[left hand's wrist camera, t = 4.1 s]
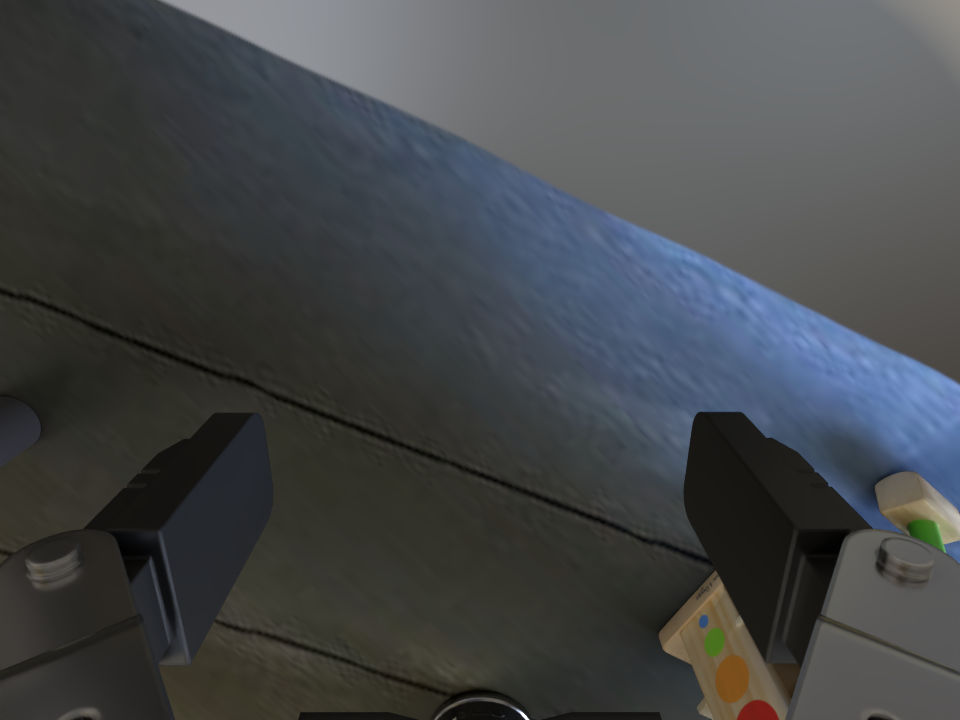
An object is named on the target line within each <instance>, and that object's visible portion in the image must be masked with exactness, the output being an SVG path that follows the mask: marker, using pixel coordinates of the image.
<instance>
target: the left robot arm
mask: <svg viewBox="0 0 960 720" xmlns="http://www.w3.org/2000/svg"><path fill="white" fill-rule="evenodd" d="M141 471H142V472H141V474H137V475H136V476H135V477H134V478H133V479H132V480H131V481H130V482H129V483H128V484H127V488H123V489H122V490H121V491H120V492H119V493H118V494H117V495H116V496H115V497H114V498H113V499H112V500H111V501H110V502H109V503H108V504H107V505H106V506H105V507H104V508H103V509H102V510H101V511H100V512H99V513H98V515H97V516H96V517H95V518H94V519H93V520H92V521H91V522H90V523H89V524H88V525H87V526H86V527H85V528H84V529H80V530H72V531H67V532H62V533H59V534H55V535H52V536H49V537H46V538H43V539H40V540H38V541H36V542H34V543H31V544H29V545H27V546H26V547H24V548H22V549H20V550H18V551H17V552H15V553H14V554H12V555H11V556H9V557H8V558H7V559H5V560H4V561H3V562H2V563H1V564H0V720H175V718H174V715H173V712H172V709H171V706H170V702H169V699H168V696H167V693H166V690H165V687H164V683H163V680H162V677H161V674H160V671H159V667H158V666H190V664H191V662H192V660H193V658H194V657H195V655H196V653H197V651H198V649H199V647H200V646H201V644H202V642H203V640H204V638H205V636H206V634H207V633H208V631H209V629H210V627H211V625H212V623H213V622H214V620H215V618H216V616H217V614H218V612H219V611H220V609H221V607H222V605H223V603H224V601H225V599H226V598H227V596H228V594H229V592H230V590H231V588H232V587H233V585H234V583H235V581H236V579H237V577H238V575H239V574H240V572H241V570H242V568H243V566H244V564H245V563H246V561H247V559H248V557H249V555H250V553H251V552H252V550H253V548H254V546H255V544H256V542H257V540H258V539H259V537H260V535H261V533H262V531H263V529H264V528H265V526H266V524H267V522H268V520H269V517H270V514H271V510H272V504H273V484H272V477H271V470H270V462H269V455H268V448H267V441H266V434H265V428H264V423H263V420H262V417H261V416H260V415H259V414H258V413H215V414H213V415H212V416H211V417H210V418H209V419H208V420H207V421H206V422H205V423H204V424H203V426H202V427H201V428H200V429H199V430H198V431H197V432H196V433H195V434H194V435H193V436H192V437H191V438H190V439H183V440H182V441H180V442H178V443H176V444H174V445H173V446H171V447H169V448H167V449H165V450H164V451H162V452H160V453H158V454H157V455H156V456H155V457H154V458H153V459H152V460H151V461H150V462H149V463H148V464H147V465H146V466H145V467H144V468H143V469H142V470H141ZM684 504H685V509H686V513H687V517H688V519H689V521H690V523H691V525H692V527H693V529H694V531H695V532H696V534H697V536H698V538H699V540H700V542H701V544H702V546H703V547H704V549H705V551H706V553H707V555H708V557H709V559H710V560H711V562H712V564H713V566H714V568H715V570H716V572H717V574H718V575H719V577H720V579H721V581H722V583H723V585H724V587H725V588H726V590H727V592H728V594H729V596H730V598H731V600H732V601H733V603H734V605H735V607H736V609H737V611H738V613H739V615H740V616H741V618H742V620H743V622H744V624H745V626H746V628H747V629H748V631H749V633H750V635H751V637H752V639H753V641H754V643H755V644H756V646H757V648H758V650H759V652H760V654H761V656H762V657H763V659H764V661H765V663H798V665H799V667H800V668H801V671H800V674H799V677H798V680H797V683H796V687H795V690H794V693H793V696H792V699H791V702H790V706H789V709H788V712H787V715H786V718H785V720H960V564H959V563H958V562H957V561H956V560H955V559H953V558H952V557H951V556H949V555H948V554H946V553H945V552H943V551H942V550H940V549H938V548H936V547H934V546H933V545H931V544H929V543H926V542H924V541H922V540H920V539H917V538H914V537H911V536H908V535H905V534H901V533H898V532H893V531H888V530H880V529H873V528H872V527H871V526H870V525H869V524H868V523H867V522H866V521H865V520H864V519H863V518H862V517H861V516H860V515H859V514H858V513H857V512H856V511H855V510H854V509H853V508H852V507H851V506H850V505H849V504H848V503H847V502H846V501H845V500H844V499H843V498H842V497H841V496H840V495H839V494H838V493H837V492H836V491H835V490H834V489H833V488H832V487H828V483H827V482H826V480H825V479H824V478H823V477H822V476H821V475H820V474H819V473H815V472H814V468H813V467H812V466H811V465H810V464H809V463H808V462H807V461H806V460H805V459H804V458H803V457H802V456H801V455H800V454H799V453H798V452H796V451H794V450H793V449H791V448H789V447H787V446H785V445H784V444H782V443H780V442H778V441H777V440H775V439H773V438H766V437H765V436H764V435H763V434H762V433H761V432H760V431H759V430H758V429H757V428H756V426H755V425H754V424H753V423H752V422H751V421H750V420H749V419H748V418H747V417H746V416H745V415H744V414H743V413H742V412H698V413H697V414H696V416H695V418H694V421H693V425H692V432H691V439H690V446H689V453H688V460H687V467H686V475H685V482H684ZM298 720H417V719H413V718H409V717H405V716H401V715H397V714H393V713H389V712H301V713H300V716H299V719H298ZM431 720H532V719H531V717H530V715H529V713H528V712H527V711H526V709H525V708H524V707H523V706H521V705H520V704H519V703H517V702H516V701H514V700H513V699H511V698H508V697H506V696H503V695H500V694H495V693H489V692H474V693H468V694H463V695H460V696H457V697H455V698H452V699H451V700H449V701H447V702H446V703H444V704H443V705H442V706H440V707H439V708H438V709H437V711H436V712H435V713H434V715H433V717H432V719H431ZM543 720H662V719H661V716H660V713H659V712H571V713H567V714H563V715H559V716H555V717H551V718H547V719H543Z"/></svg>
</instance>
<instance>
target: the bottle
mask: <svg viewBox="0 0 960 720" xmlns="http://www.w3.org/2000/svg"><path fill="white" fill-rule="evenodd" d="M40 433H41V425H40V421H39V419H38V417H37V415H36V414H35V412H34V411H33V410H32V409H31V408H30V407H29V406H28V405H26V404H25V403H23V402H22V401H20V400H18V399H15V398H11V397H0V467H2V466H3V465H4V464H6V463H7V462H9V461H10V460H11V459H13V458H14V457H16V456H17V455H19V454H20V453H21V452H23V451H24V450H26V449H27V448H29V447H30V446H31V445H33V444H34V443H35V442H36V441H37V440H38V438H39V436H40Z"/></svg>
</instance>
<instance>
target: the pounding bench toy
mask: <svg viewBox="0 0 960 720" xmlns="http://www.w3.org/2000/svg"><path fill="white" fill-rule="evenodd" d="M875 492H876V497H877V501H878V506H879V510H880V512H881V514H882V515H883V516H884V517H886V518H887V519H888V520H889V521H890V522H891V523H892V524H893V525H895V526H896V527H897V528H898V529H899V530H900V531H902V532H903V533H904V534H905V535H908V536H911V537H914V538H917V539H920V540H922V541H924V542H926V543H929V544H931V545H933V546H934V547H936V548H938V549H940V550H942V551H943V552H945V553H946V551H945V548H944V544H947V543H951V542H955V541H958V540H960V514H959V512H958V509H957V508H955V507H954V506H953V505H952V504H951V503H950V502H949V501H948V500H947V499H945V498H944V497H943V496H942V495H941V494H940V493H939V492H938V491H937V490H935V489H934V488H933V487H932V486H931V485H930V484H929V483H928V482H927V481H926V480H924V479H923V478H922V477H921V476H920V475H919V474H917V473H916V472H912V471H904V472H899V473H895V474H893V475H890V476H888V477H886V478H884V479H882V480H881V481H879V482H878V483H877V484H876V485H875ZM659 639H660V642H661V645H662V648H663V650H664V651H665V652H667V653H669V654H671V655H673V656H675V657H677V658H679V659H681V660H683V661H685V662H687V663H689V664H691V665H692V667H693V669H694V672H695V674H696V677H697V679H698V682H699V684H700V687H701V689H702V692H703V694H704V698H703V699H702V701H701V702H700V704H699V705H698V707H697V710H698V711H699V713H700V714H701V715H704V716H706V717H708V718H710V719H713V720H785V718H786V715H787V712H788V709H789V706H790V702H791V699H792V696H793V693H794V690H795V687H796V683H797V680H798V677H799V674H800V671H801V668H800V667H799V665H798V663H765V661H764V659H763V657H762V656H761V654H760V652H759V650H758V648H757V646H756V644H755V643H754V641H753V639H752V637H751V635H750V633H749V631H748V629H747V628H746V626H745V624H744V622H743V620H742V618H741V616H740V615H739V613H738V611H737V609H736V607H735V605H734V603H733V601H732V600H731V598H730V596H729V594H728V592H727V590H726V588H725V587H724V585H723V583H722V581H721V579H720V577H719V575H718V574H717V572H716V570H715V571H714V572H713V573H712V575H711V576H710V577H709V578H708V579H707V580H706V581H705V582H704V583H703V584H702V585H701V587H700V588H699V589H698V590H697V591H696V592H695V593H694V594H693V595H692V596H691V597H690V599H689V600H688V601H687V602H686V603H685V604H684V605H683V606H682V607H681V608H680V609H679V611H678V612H677V613H676V614H675V615H674V616H673V617H672V618H671V619H670V620H669V622H668V623H667V624H666V625H665V626H664V627H663V628H662V629H661V631H660V632H659Z"/></svg>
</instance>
